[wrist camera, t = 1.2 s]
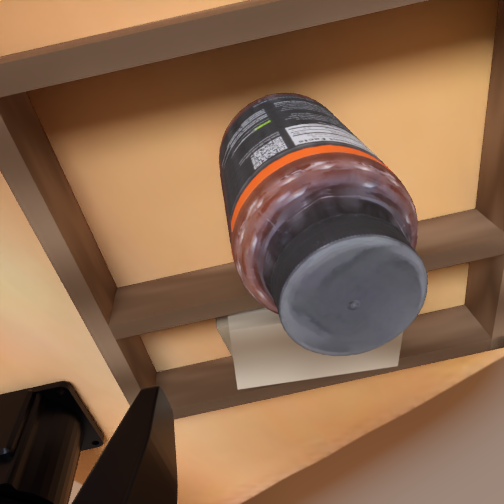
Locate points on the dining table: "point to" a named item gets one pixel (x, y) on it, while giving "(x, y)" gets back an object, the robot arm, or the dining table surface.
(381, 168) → the supplement bottle
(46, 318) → the dining table surface
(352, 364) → the offcut top
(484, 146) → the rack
